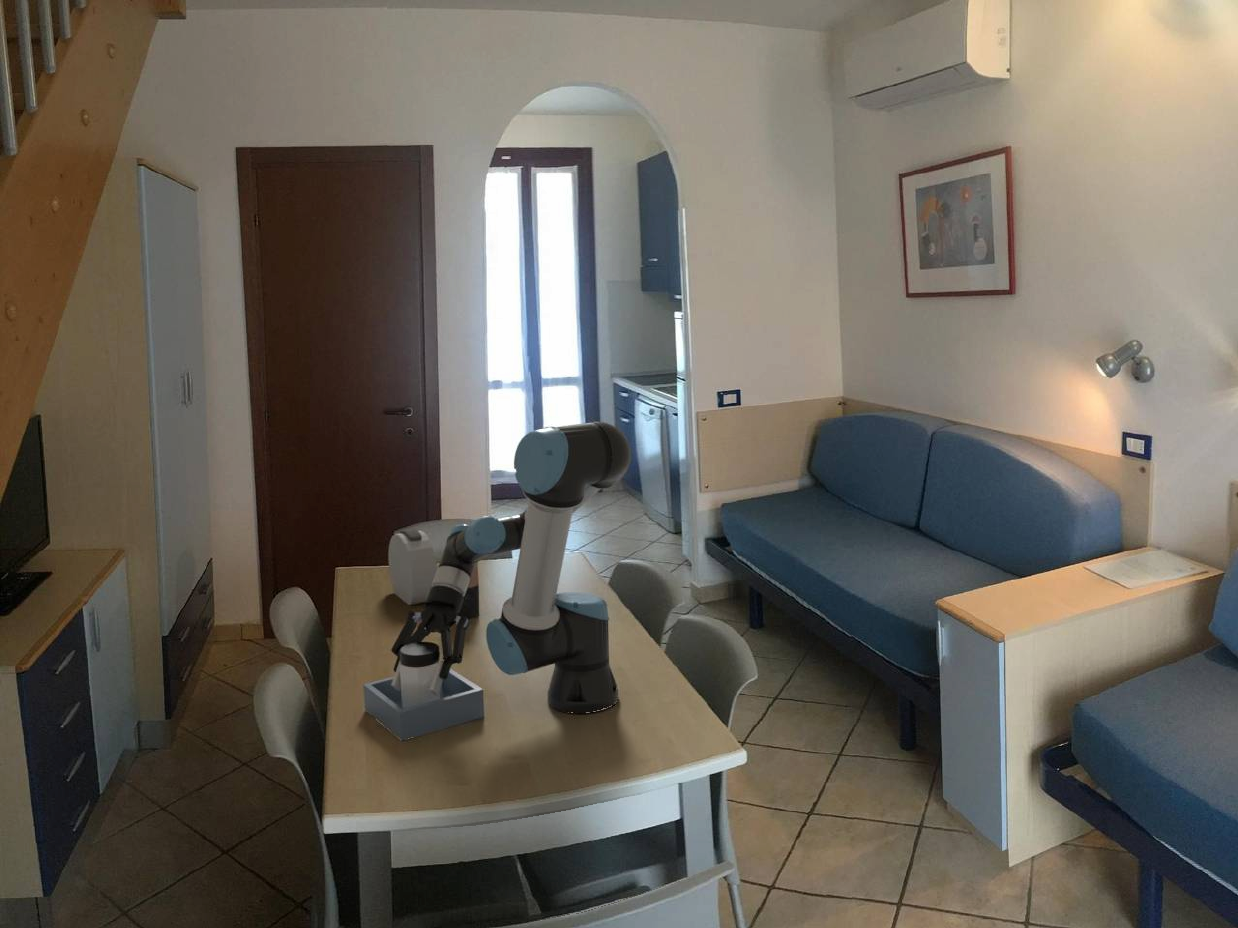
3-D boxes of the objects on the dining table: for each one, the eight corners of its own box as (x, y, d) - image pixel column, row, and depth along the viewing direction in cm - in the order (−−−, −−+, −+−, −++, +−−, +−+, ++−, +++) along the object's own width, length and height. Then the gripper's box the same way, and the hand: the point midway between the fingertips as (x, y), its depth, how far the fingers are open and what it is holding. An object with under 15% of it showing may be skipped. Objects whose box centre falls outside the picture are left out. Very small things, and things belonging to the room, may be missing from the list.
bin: (484, 716, 212) (482, 689, 211) (401, 741, 202) (399, 712, 201) (444, 689, 227) (442, 663, 226) (365, 711, 217) (363, 684, 215)
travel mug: (486, 613, 278) (482, 541, 275) (467, 621, 272) (463, 548, 268) (464, 608, 282) (460, 538, 279) (445, 616, 276) (441, 544, 273)
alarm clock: (439, 604, 287) (435, 535, 283) (414, 609, 283) (409, 539, 280) (414, 585, 305) (410, 520, 302) (390, 589, 301) (385, 524, 298)
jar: (409, 714, 208) (406, 658, 206) (395, 701, 215) (391, 647, 213) (450, 704, 213) (447, 649, 211) (434, 691, 220) (431, 638, 218)
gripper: (497, 603, 222) (467, 703, 210) (412, 596, 229) (377, 691, 217) (485, 587, 216) (453, 688, 204) (398, 580, 223) (362, 677, 211)
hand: (414, 690), depth 210 cm, fingers closed on jar, 8 cm apart
